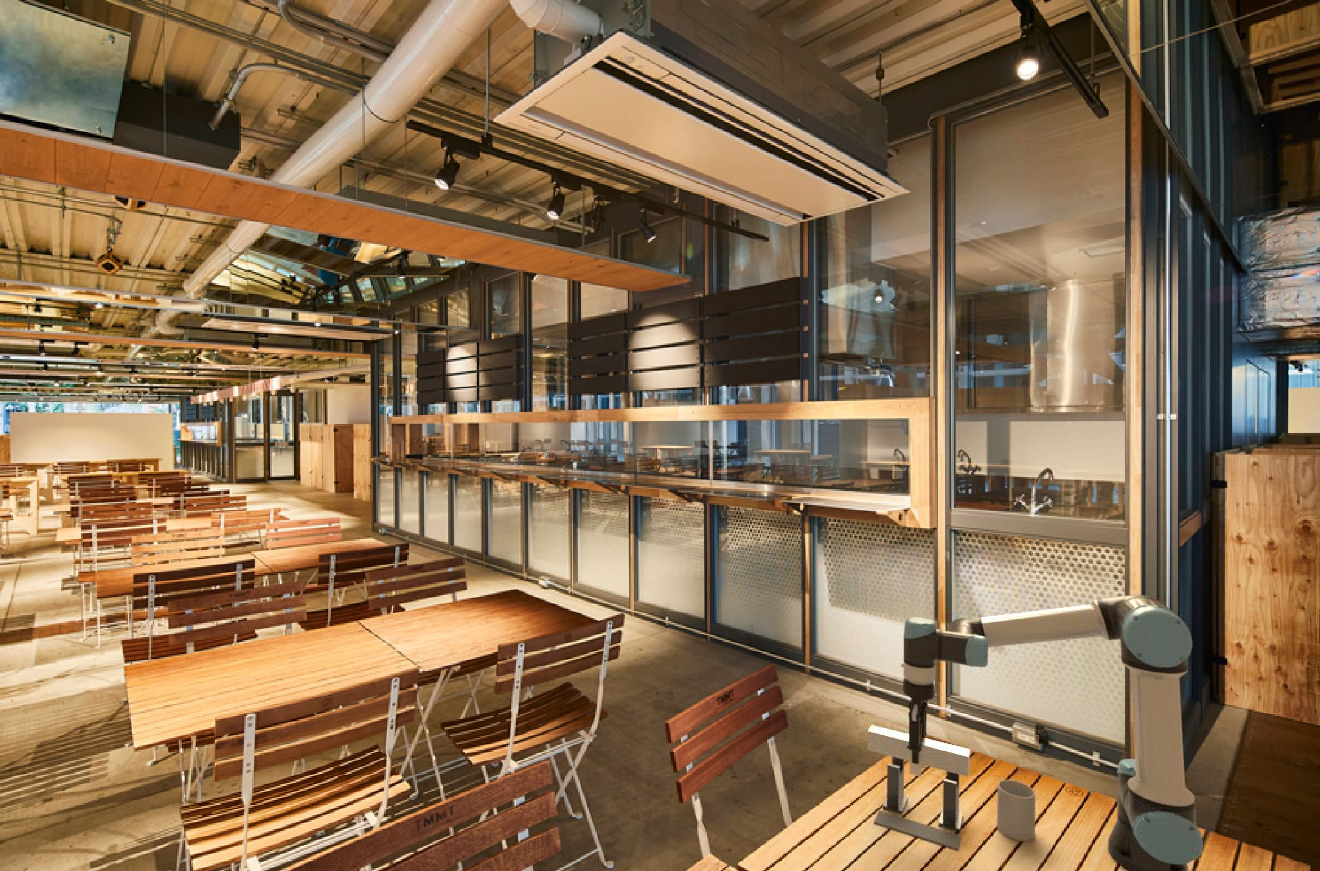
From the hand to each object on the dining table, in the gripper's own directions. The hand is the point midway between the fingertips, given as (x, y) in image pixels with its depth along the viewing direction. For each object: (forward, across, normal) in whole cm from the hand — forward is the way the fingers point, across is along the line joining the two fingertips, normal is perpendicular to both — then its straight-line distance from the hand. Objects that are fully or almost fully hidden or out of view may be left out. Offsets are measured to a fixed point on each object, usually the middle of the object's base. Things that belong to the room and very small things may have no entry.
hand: (917, 770), depth 162 cm
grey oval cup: (+16, -15, +21) cm, 30 cm away
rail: (-3, 0, 0) cm, 3 cm away
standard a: (+15, -9, +7) cm, 19 cm away
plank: (+15, 0, 0) cm, 15 cm away
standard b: (+15, -9, -7) cm, 19 cm away
